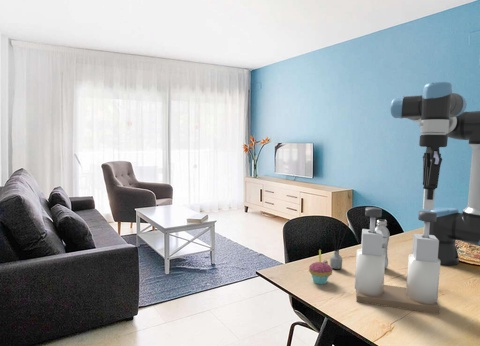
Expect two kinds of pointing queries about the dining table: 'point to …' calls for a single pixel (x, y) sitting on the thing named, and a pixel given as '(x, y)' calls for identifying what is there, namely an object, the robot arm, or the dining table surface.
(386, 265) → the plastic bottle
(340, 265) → the reed diffuser
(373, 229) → the plunger
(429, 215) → the plunger
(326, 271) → the cupcake
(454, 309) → the dining table surface
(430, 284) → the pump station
